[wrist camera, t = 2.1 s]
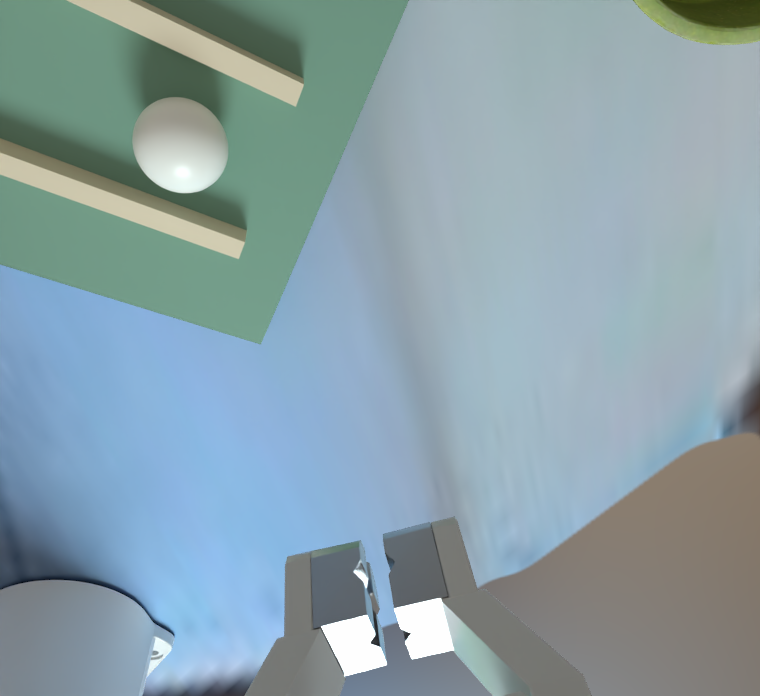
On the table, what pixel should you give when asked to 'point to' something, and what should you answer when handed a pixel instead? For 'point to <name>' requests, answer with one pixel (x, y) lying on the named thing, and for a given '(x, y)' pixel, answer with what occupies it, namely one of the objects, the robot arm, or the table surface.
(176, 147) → the ball
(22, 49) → the putting mat
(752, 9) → the plant pot
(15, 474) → the table surface
